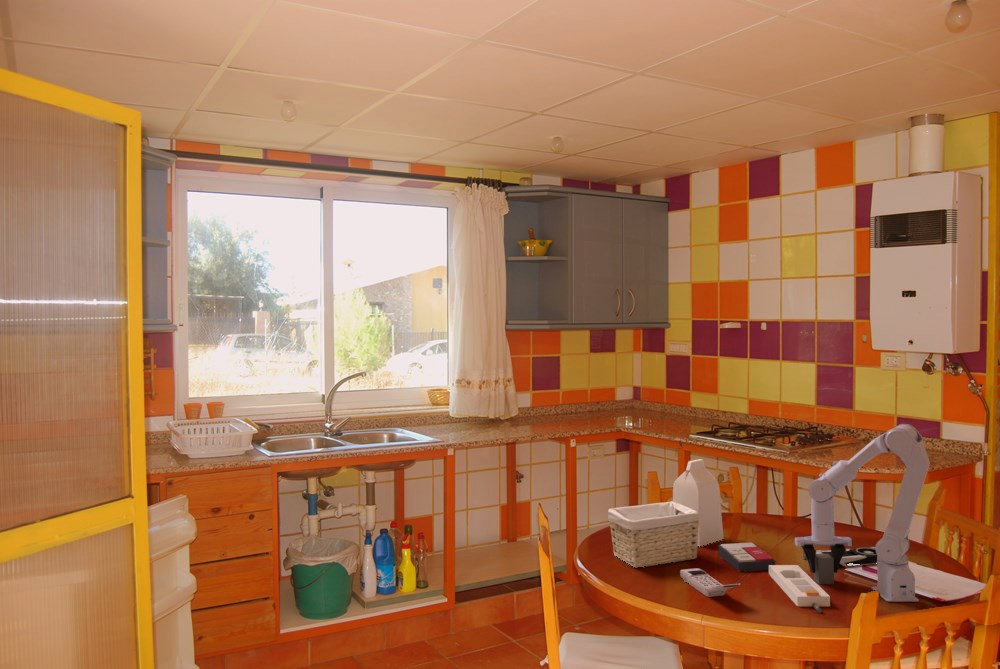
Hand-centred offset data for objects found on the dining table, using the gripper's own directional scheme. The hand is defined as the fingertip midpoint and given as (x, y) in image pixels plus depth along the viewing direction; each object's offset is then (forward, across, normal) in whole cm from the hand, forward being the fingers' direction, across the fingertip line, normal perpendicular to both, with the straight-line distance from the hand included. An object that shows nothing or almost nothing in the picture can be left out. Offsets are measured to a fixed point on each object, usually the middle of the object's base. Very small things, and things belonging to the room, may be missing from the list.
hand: (823, 571), depth 206 cm
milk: (+3, +26, -40) cm, 48 cm away
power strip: (+3, +9, +8) cm, 12 cm away
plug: (+3, 0, 0) cm, 3 cm away
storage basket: (+3, +43, -22) cm, 48 cm away
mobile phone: (+3, +33, +6) cm, 34 cm away
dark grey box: (+3, +16, -16) cm, 23 cm away
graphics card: (+3, -14, -16) cm, 22 cm away
